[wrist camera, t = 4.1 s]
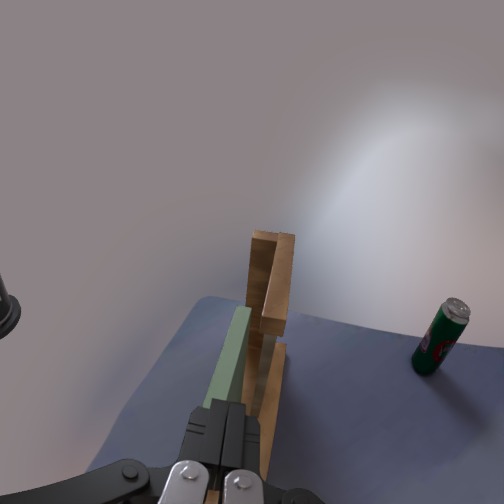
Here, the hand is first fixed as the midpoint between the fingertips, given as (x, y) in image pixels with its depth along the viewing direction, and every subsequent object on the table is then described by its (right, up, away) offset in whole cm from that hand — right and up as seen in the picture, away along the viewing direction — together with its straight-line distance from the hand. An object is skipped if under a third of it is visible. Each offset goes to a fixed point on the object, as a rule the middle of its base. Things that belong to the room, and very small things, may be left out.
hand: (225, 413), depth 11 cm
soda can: (+28, -11, +26) cm, 40 cm away
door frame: (0, -12, +18) cm, 22 cm away
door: (-2, -12, +14) cm, 19 cm away
